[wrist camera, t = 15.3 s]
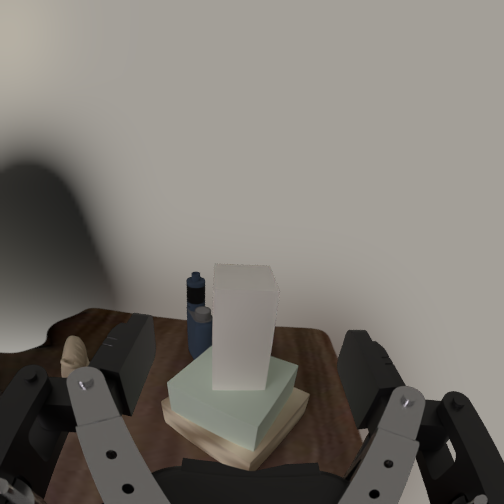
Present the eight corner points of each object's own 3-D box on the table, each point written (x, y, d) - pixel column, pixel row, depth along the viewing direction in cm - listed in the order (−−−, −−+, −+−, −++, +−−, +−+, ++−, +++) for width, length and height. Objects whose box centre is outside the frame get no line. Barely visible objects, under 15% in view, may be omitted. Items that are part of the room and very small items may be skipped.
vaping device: (202, 343, 41) (202, 268, 37) (216, 365, 37) (217, 285, 33) (186, 346, 40) (183, 270, 36) (198, 369, 35) (196, 288, 32)
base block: (165, 423, 26) (161, 401, 25) (228, 378, 35) (229, 355, 34) (247, 481, 21) (250, 463, 19) (303, 416, 29) (309, 394, 28)
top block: (171, 410, 24) (167, 382, 23) (220, 364, 32) (221, 337, 31) (253, 451, 21) (257, 427, 19) (292, 392, 28) (298, 365, 27)
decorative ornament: (94, 355, 34) (86, 324, 33) (89, 397, 27) (77, 365, 25) (68, 356, 33) (59, 325, 31) (60, 397, 26) (46, 364, 24)
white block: (212, 390, 23) (213, 289, 20) (212, 357, 27) (214, 263, 24) (265, 390, 23) (279, 290, 20) (259, 357, 28) (269, 265, 24)
